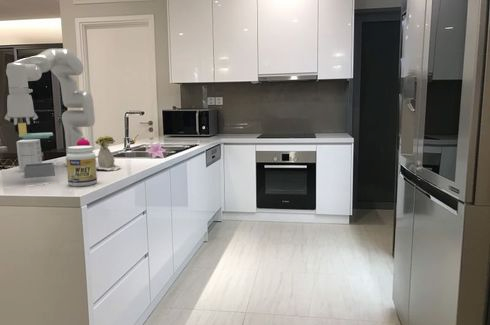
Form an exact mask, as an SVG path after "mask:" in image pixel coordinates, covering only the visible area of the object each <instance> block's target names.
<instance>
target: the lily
mask: <svg viewBox="0 0 490 325" xmlns="http://www.w3.org/2000/svg"><path fill="white" fill-rule="evenodd" d="M149 146H150V147H149V148H148V149H146V150H145V152H146V153H150V154H152V155H151V157H152V159H155V158H156V157H159V158H162V159H164V154H163V152H165V151H167V149H166V148H162V143H161V141H158V142H156V144H152V143H149Z"/></svg>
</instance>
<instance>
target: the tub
mask: <svg viewBox="0 0 490 325" xmlns="http://www.w3.org/2000/svg"><path fill="white" fill-rule="evenodd" d="M55 171H56V170H55V163H54V162H42V163H39V164H25V165H24V172H23V173H24V178H25V179H30V178H31V179H32V178H42V177H54V176H56V172H55Z"/></svg>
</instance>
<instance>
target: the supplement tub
mask: <svg viewBox="0 0 490 325" xmlns="http://www.w3.org/2000/svg"><path fill="white" fill-rule="evenodd" d="M68 152H69V153H68V154H67V153H66V157H65V159H66V163H67V166H66V172H67V183H68V186H72V187H86V186H88V185H89V186H92V185H94V184H96V183H97V182H98V177H97V176H98V175H97V169H96V167H97V159H96V154H95V152H94V147H93V145H90V146H72V147H68ZM89 186H88V187H89Z"/></svg>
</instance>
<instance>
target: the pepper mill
mask: <svg viewBox="0 0 490 325" xmlns="http://www.w3.org/2000/svg"><path fill="white" fill-rule="evenodd" d="M85 138H86V137H85V136H84V135H83V136H82V137H81V140H79V141H78V142H77V146H91V142H90V141H89V140H88V139H85Z"/></svg>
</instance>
